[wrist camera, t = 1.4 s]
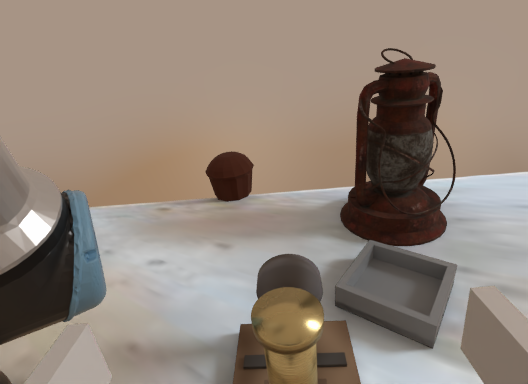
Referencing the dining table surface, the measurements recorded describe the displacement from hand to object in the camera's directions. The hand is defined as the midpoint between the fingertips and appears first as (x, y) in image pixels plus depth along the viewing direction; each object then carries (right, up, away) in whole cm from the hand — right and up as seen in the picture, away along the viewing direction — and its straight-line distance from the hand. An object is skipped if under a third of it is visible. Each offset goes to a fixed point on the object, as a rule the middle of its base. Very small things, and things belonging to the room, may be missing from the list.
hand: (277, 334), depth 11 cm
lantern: (+24, 0, +50) cm, 56 cm away
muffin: (-8, +5, +67) cm, 68 cm away
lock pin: (+3, -16, +18) cm, 24 cm away
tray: (+18, -9, +32) cm, 38 cm away
